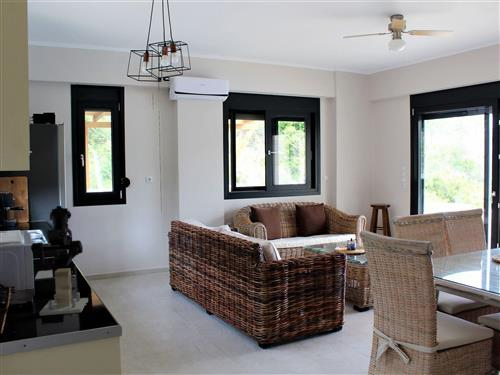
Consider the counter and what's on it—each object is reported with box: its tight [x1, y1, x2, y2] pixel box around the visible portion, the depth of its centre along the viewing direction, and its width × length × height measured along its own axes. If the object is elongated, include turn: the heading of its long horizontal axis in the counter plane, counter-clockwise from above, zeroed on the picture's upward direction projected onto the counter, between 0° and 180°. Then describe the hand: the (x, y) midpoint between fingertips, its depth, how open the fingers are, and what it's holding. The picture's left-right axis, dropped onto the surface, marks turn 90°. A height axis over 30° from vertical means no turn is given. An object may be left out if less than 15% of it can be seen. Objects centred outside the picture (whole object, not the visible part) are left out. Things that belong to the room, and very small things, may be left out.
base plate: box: [39, 292, 89, 316], centre depth 176 cm, size 14×14×4 cm
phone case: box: [34, 269, 55, 282], centre depth 227 cm, size 9×2×16 cm
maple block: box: [54, 268, 73, 307], centre depth 176 cm, size 4×4×13 cm
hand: (54, 266), depth 186 cm, fingers open, 9 cm apart
